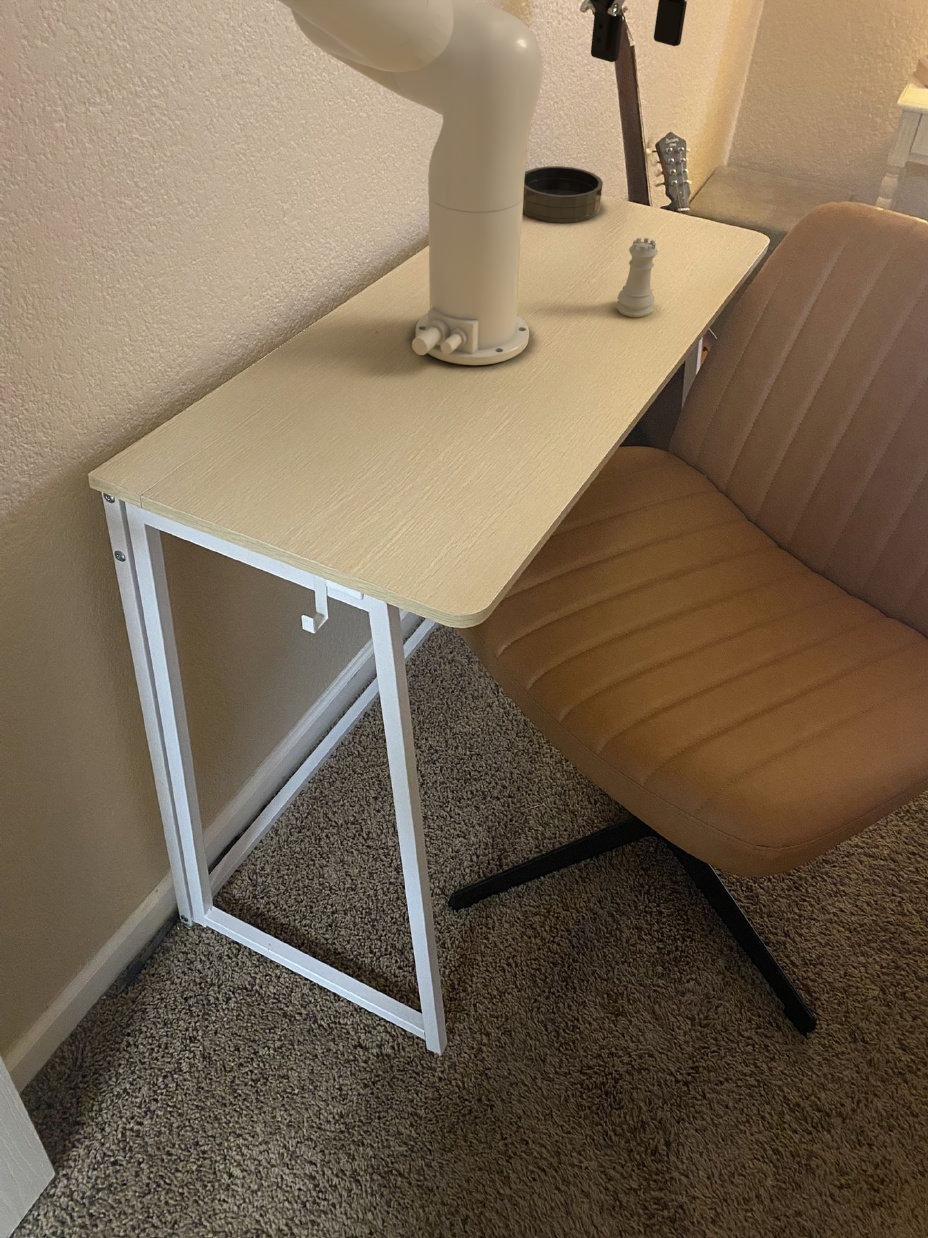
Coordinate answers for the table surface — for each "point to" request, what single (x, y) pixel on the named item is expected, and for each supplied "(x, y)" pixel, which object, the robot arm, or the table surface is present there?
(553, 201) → the pan
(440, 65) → the robot arm
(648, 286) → the rook chess piece
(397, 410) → the table surface
